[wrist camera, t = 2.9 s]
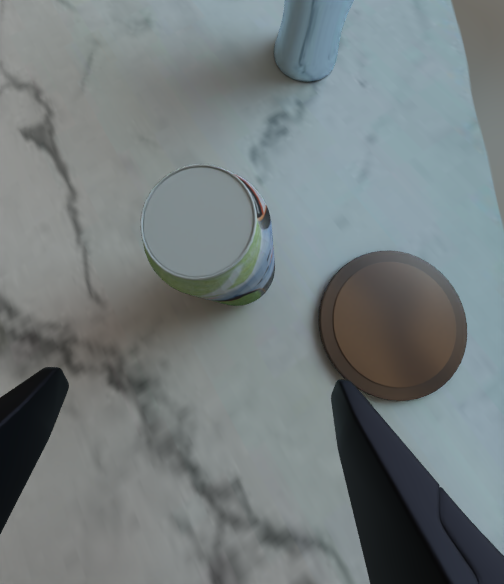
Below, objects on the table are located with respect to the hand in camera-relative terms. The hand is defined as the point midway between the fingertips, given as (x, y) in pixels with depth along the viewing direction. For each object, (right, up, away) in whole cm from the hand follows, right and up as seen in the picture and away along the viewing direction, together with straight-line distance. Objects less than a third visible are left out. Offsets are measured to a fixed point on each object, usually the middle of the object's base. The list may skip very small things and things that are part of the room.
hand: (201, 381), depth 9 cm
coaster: (+13, 0, +14) cm, 19 cm away
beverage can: (0, +4, +14) cm, 15 cm away
